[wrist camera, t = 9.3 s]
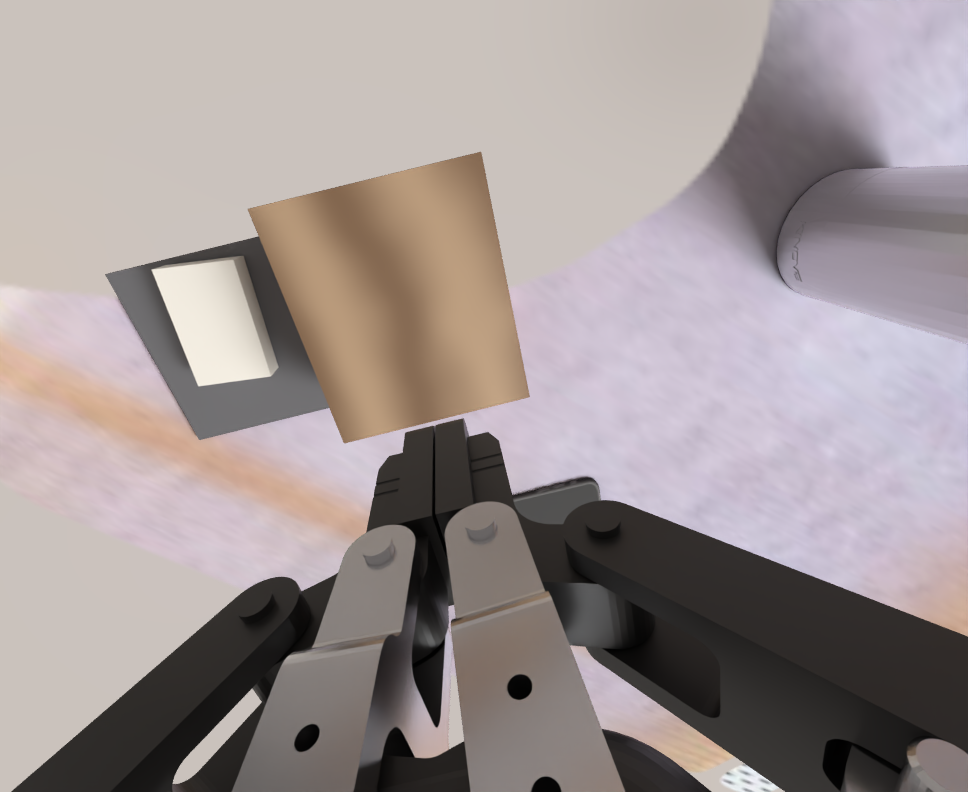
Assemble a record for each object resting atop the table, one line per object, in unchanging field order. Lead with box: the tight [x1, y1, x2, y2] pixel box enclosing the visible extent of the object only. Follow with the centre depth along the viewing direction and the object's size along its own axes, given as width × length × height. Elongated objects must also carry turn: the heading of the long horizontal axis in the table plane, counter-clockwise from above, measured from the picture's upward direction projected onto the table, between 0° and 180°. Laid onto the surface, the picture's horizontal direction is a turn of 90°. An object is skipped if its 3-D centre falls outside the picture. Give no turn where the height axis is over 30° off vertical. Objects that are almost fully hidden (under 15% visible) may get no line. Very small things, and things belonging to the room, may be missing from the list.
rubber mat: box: [105, 237, 329, 440], centre depth 34 cm, size 13×13×1 cm
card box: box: [152, 256, 278, 386], centre depth 32 cm, size 5×8×2 cm, turn 6°
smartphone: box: [512, 478, 601, 524], centre depth 44 cm, size 7×1×15 cm
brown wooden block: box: [248, 152, 530, 443], centre depth 30 cm, size 12×14×8 cm
